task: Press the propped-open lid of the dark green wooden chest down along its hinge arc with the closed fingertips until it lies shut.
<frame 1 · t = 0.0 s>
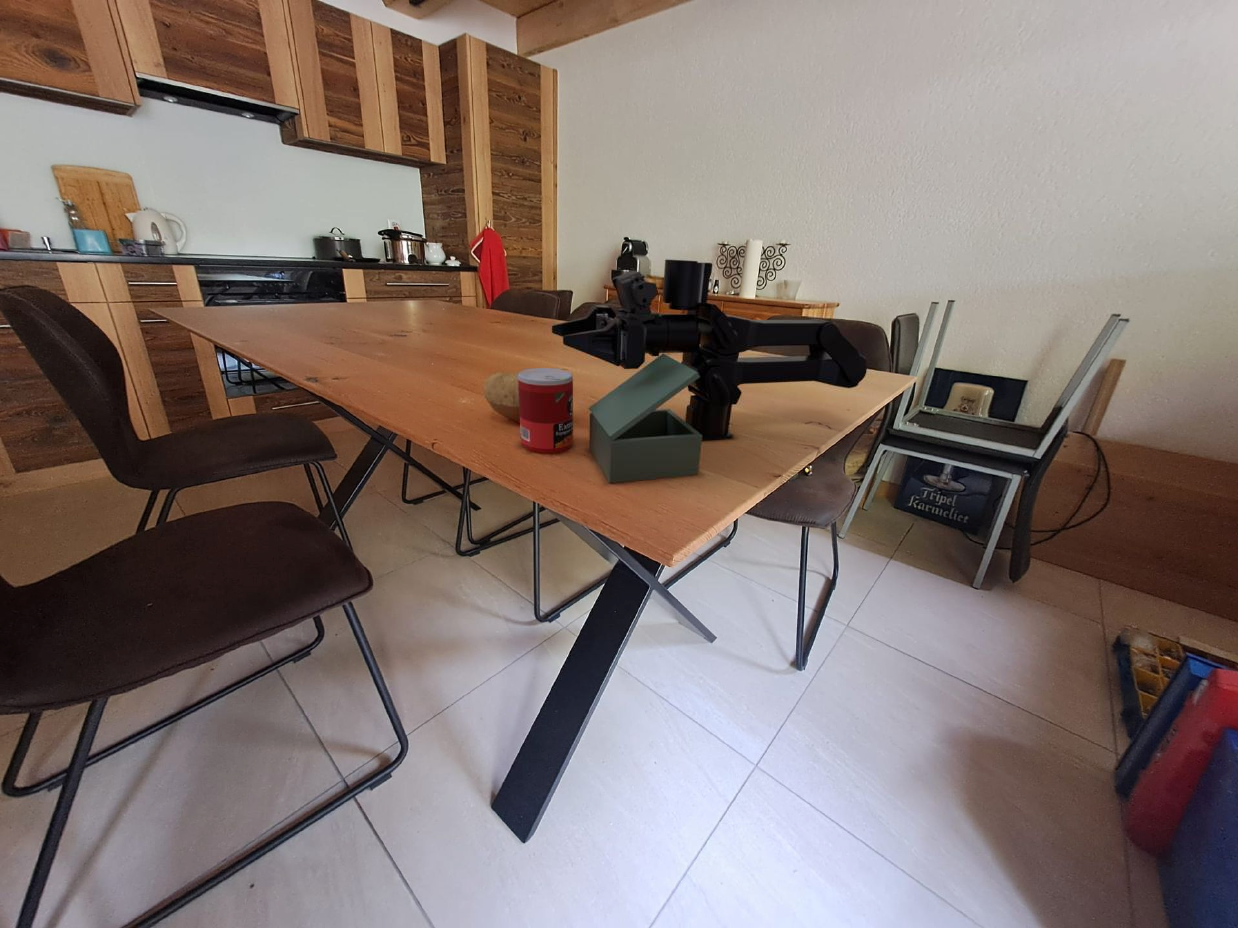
hand: (557, 334, 66), 17 cm above the table, tool horizontal, fingers open, 9 cm apart
lid: (639, 393, 63), point 10 cm above the table, hinge at 35.0°
canned food: (547, 445, 72), on the table
chest: (640, 461, 68), on the table
potato: (526, 421, 82), on the table
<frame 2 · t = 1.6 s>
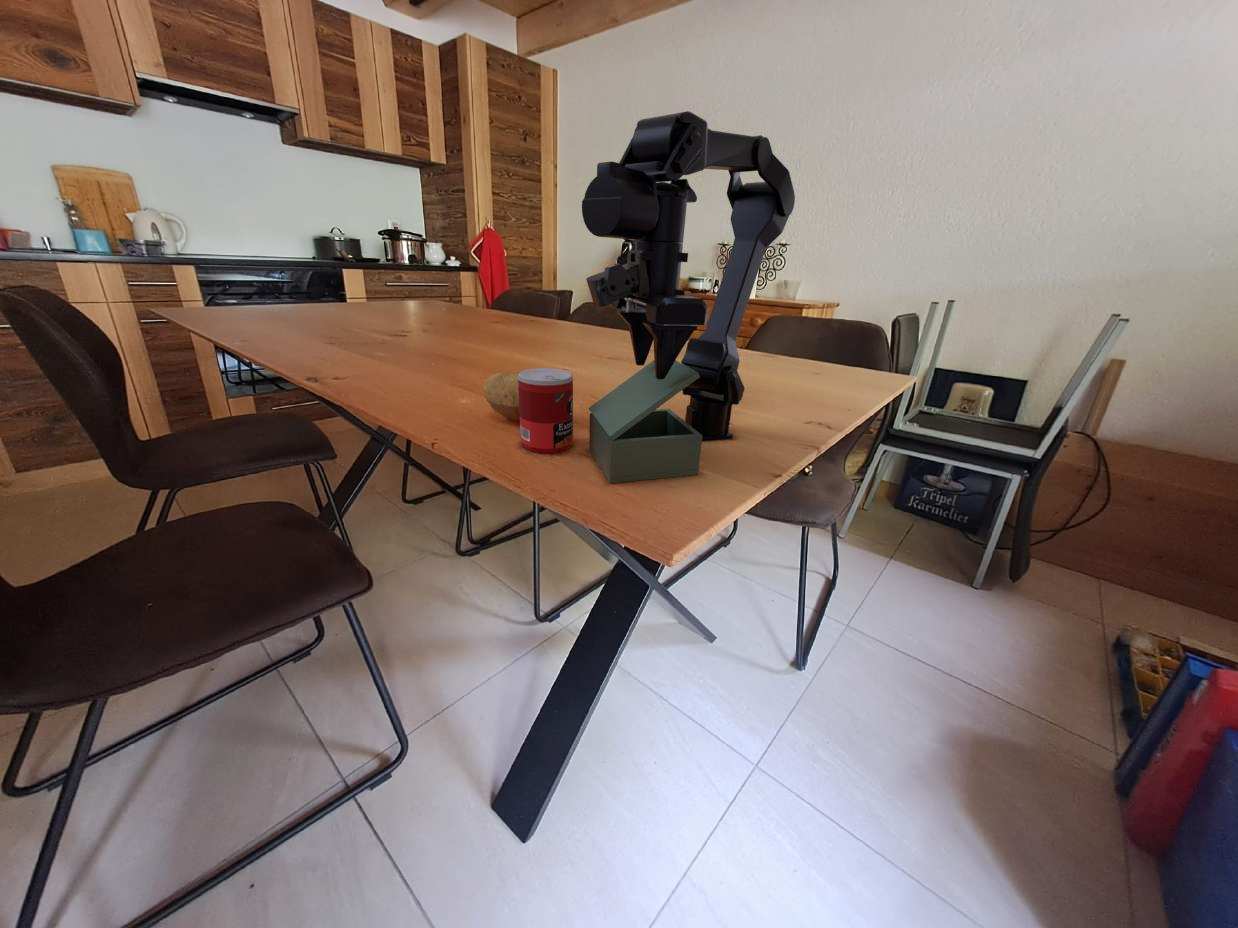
hand: (649, 371, 63), 13 cm above the table, tool pointing down, fingers open, 8 cm apart
nothing on the table moved.
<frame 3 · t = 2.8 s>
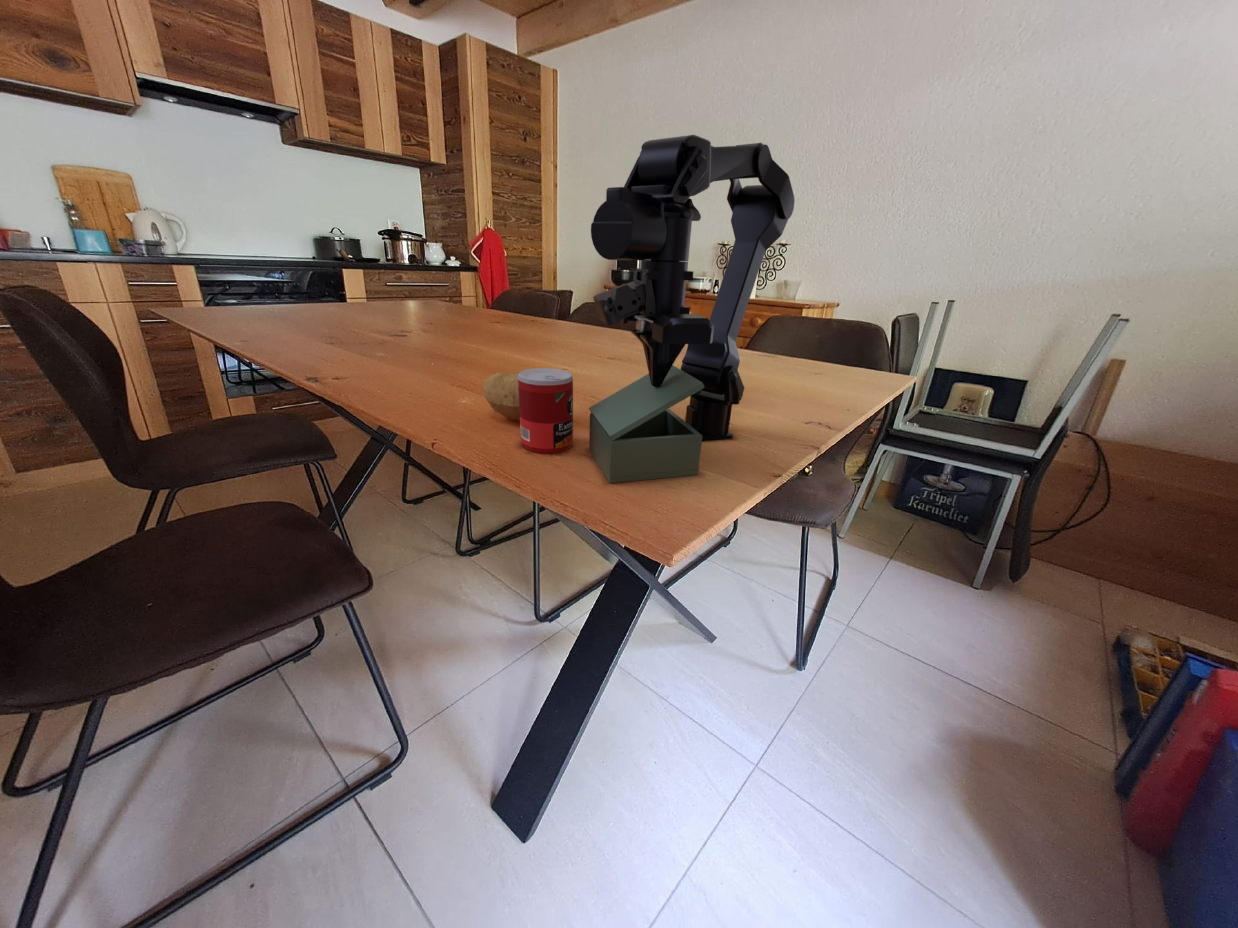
hand: (655, 386, 64), 11 cm above the table, tool pointing down, fingers closed, pressing on lid
lid: (642, 398, 64), point 9 cm above the table, hinge at 28.1°, touching gripper
everything else where it was.
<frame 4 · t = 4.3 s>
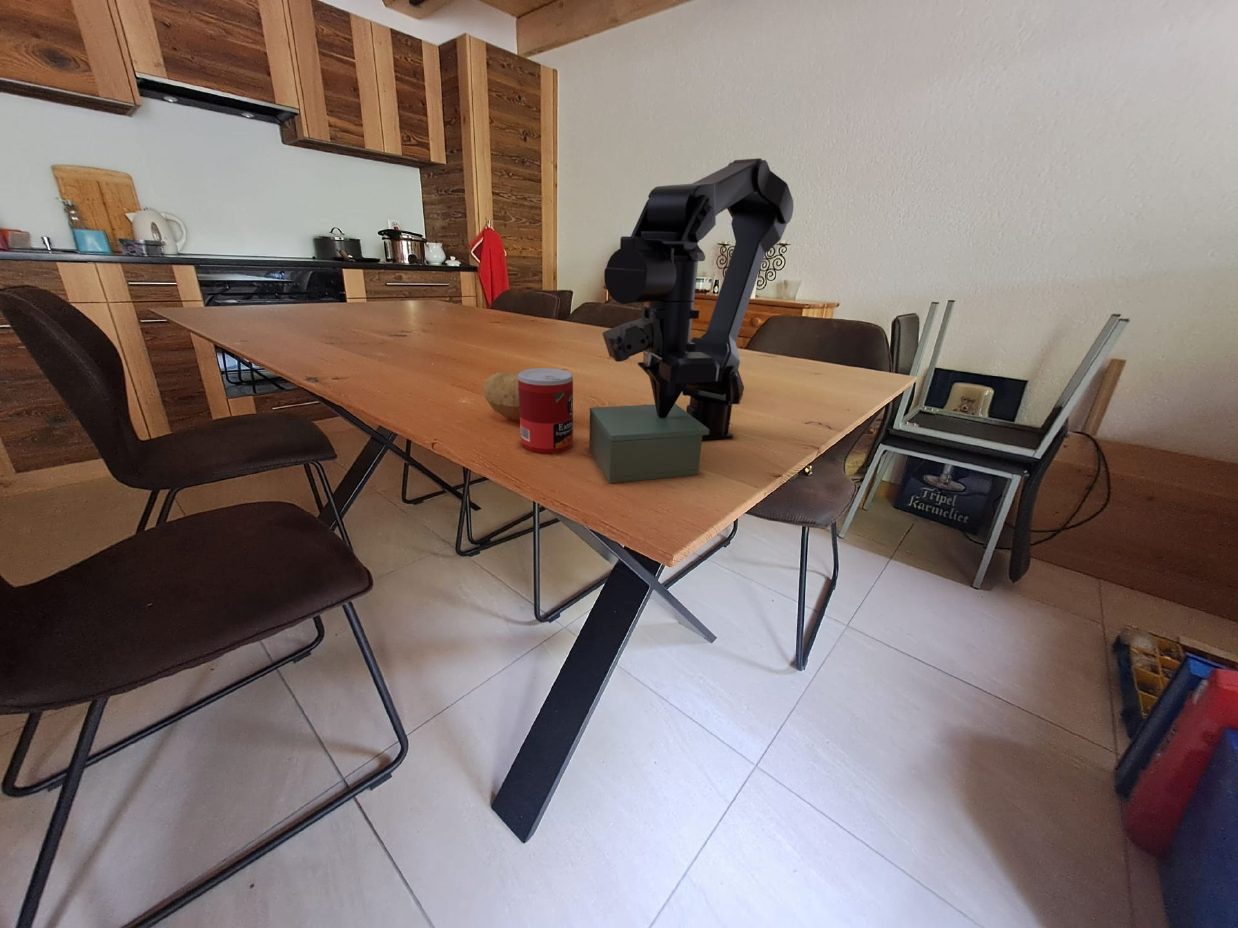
hand: (661, 417, 66), 7 cm above the table, tool pointing down, fingers closed, pressing on lid
lid: (646, 420, 65), point 6 cm above the table, hinge at -0.2°, touching chest, gripper
everything else where it was.
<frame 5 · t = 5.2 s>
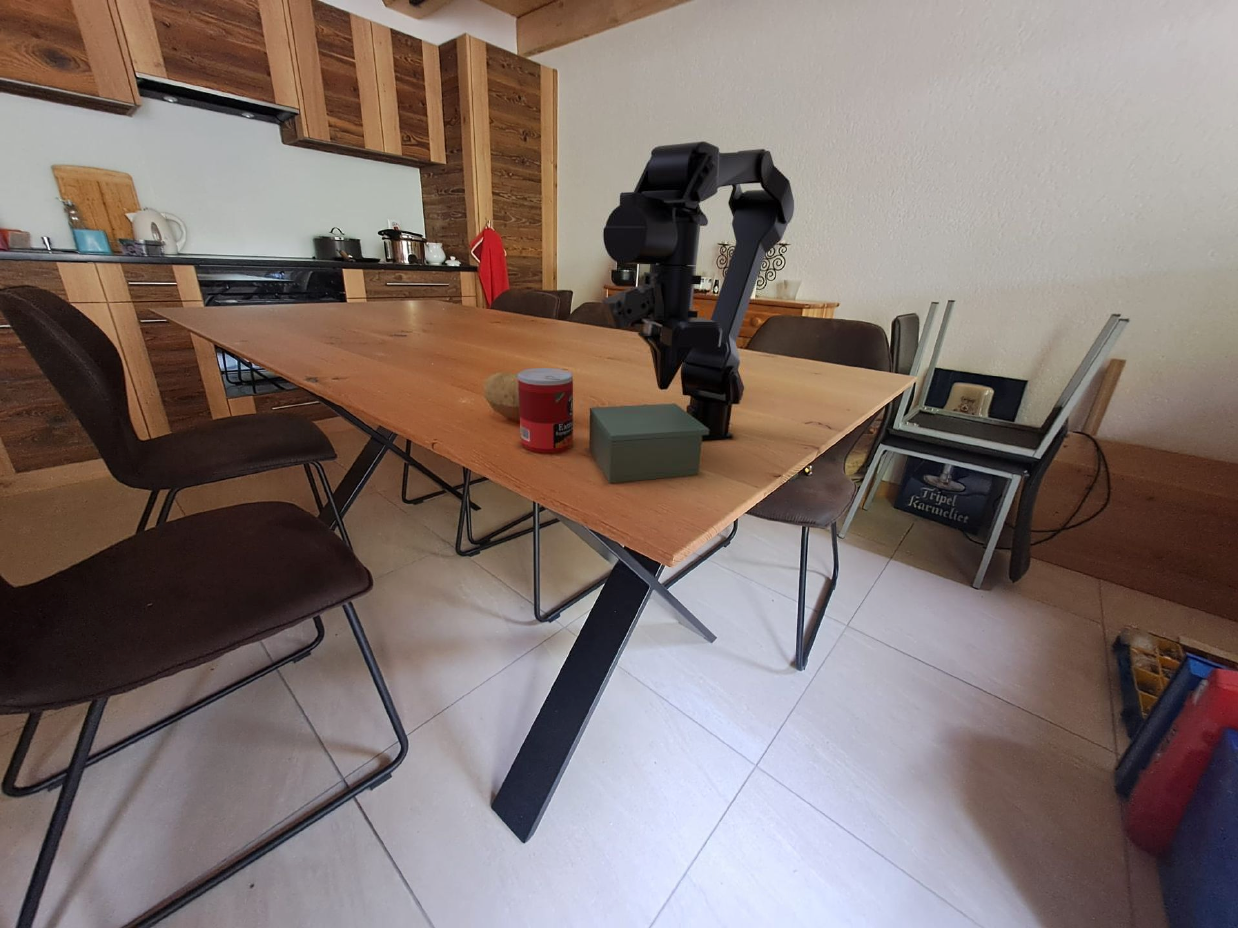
hand: (662, 388, 64), 11 cm above the table, tool pointing down, fingers closed
lid: (646, 420, 65), point 6 cm above the table, hinge at -0.2°, touching chest
everything else where it was.
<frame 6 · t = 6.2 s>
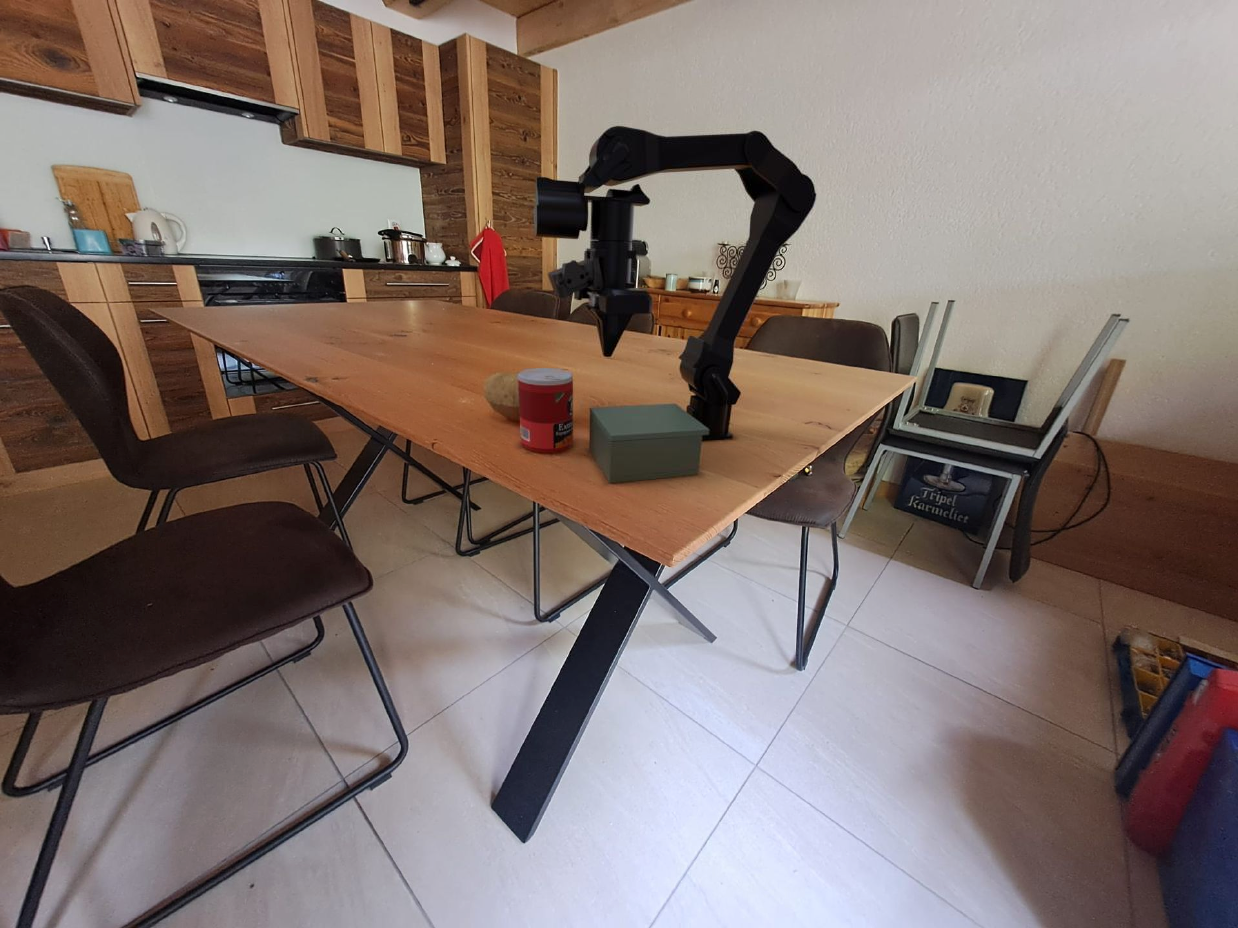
hand: (607, 356, 70), 13 cm above the table, tool pointing down, fingers closed
nothing on the table moved.
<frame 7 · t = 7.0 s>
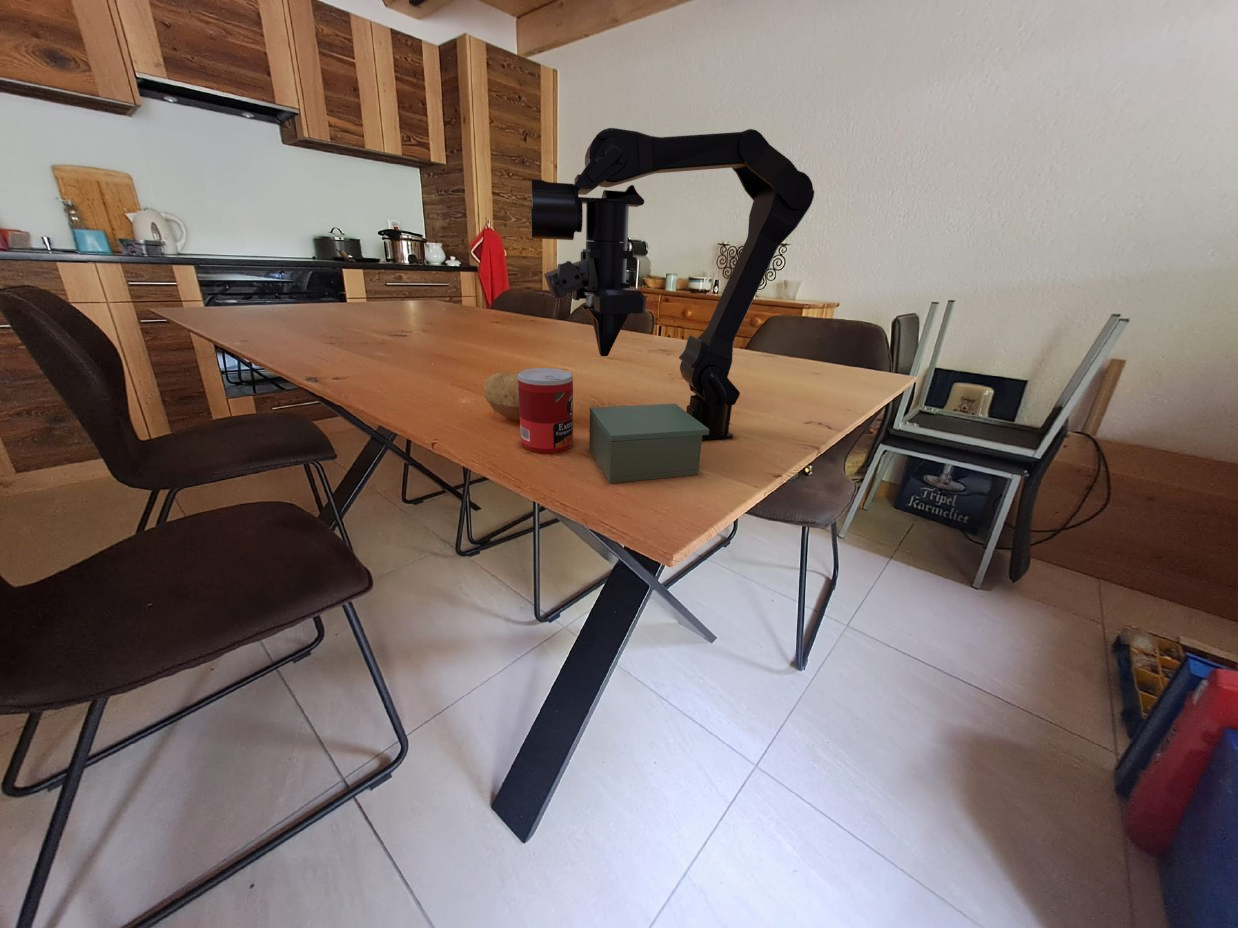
hand: (603, 355, 71), 13 cm above the table, tool pointing down, fingers closed
nothing on the table moved.
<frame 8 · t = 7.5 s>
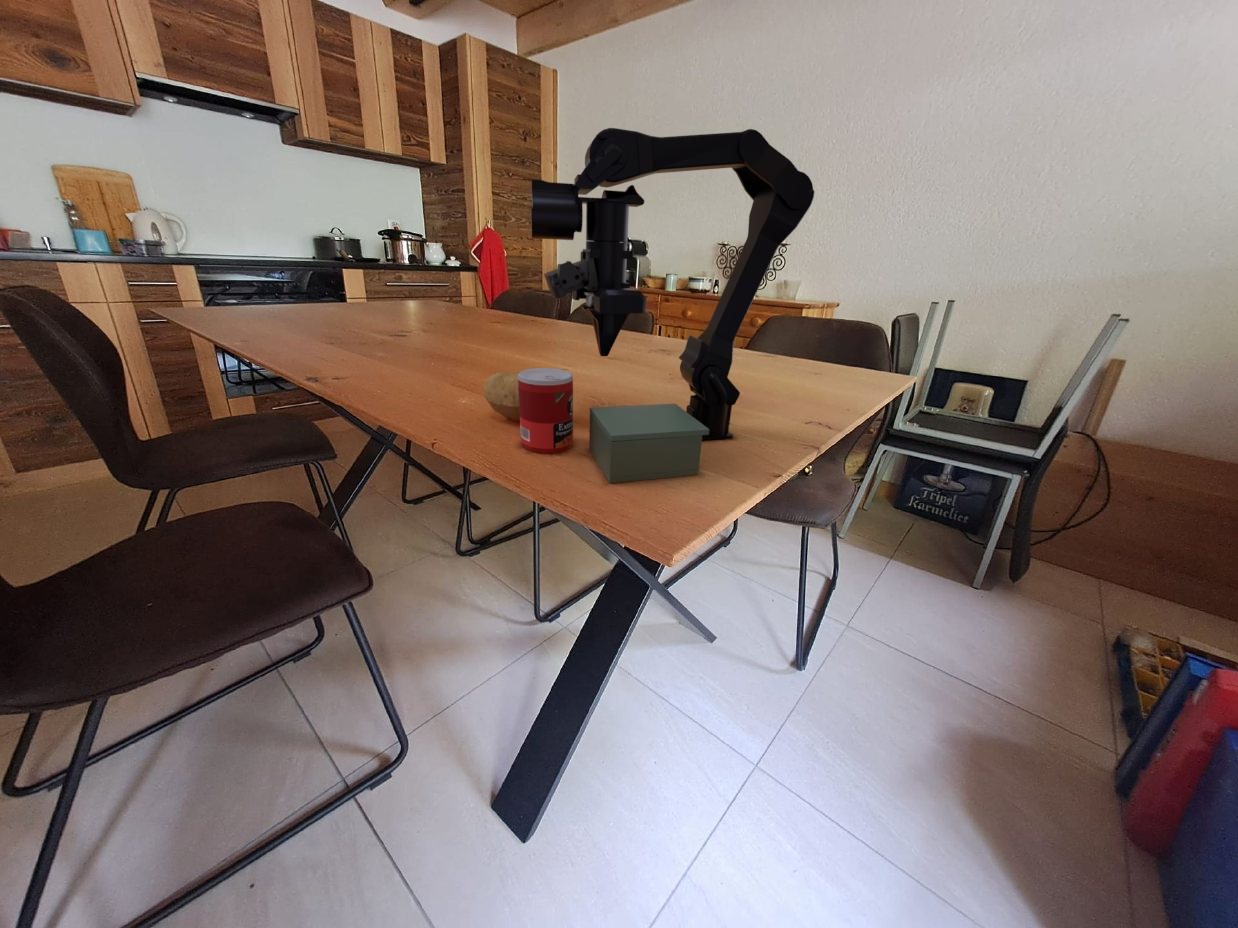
hand: (603, 355, 71), 13 cm above the table, tool pointing down, fingers closed
nothing on the table moved.
at the end: lid at +0° (first picture: +35°) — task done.
